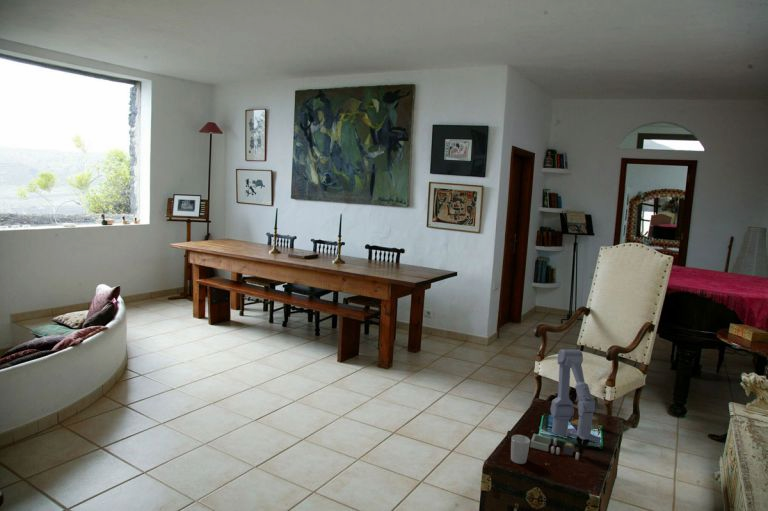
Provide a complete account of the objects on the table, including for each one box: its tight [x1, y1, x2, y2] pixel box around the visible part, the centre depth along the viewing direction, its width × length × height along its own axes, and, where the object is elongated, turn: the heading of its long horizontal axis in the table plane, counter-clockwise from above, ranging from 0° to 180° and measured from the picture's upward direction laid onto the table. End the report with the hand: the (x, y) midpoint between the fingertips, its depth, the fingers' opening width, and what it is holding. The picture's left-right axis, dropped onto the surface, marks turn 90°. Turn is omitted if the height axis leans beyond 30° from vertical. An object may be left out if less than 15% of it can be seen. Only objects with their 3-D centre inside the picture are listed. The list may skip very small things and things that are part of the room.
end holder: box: [529, 433, 552, 452], centre depth 247 cm, size 8×8×3 cm
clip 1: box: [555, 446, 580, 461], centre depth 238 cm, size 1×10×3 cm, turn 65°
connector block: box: [562, 441, 575, 457], centre depth 241 cm, size 4×4×4 cm
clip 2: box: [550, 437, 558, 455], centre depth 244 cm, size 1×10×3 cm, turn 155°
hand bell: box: [591, 397, 601, 429], centre depth 269 cm, size 8×8×16 cm
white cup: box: [510, 434, 531, 465], centre depth 232 cm, size 8×8×10 cm
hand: (581, 453), depth 239 cm, fingers closed
